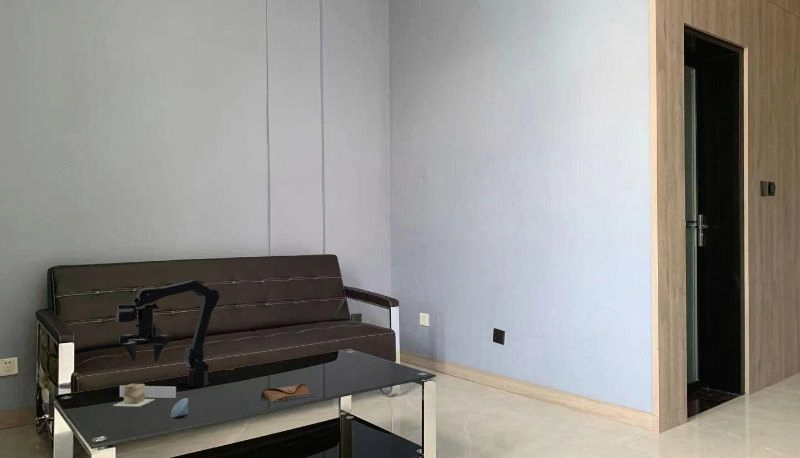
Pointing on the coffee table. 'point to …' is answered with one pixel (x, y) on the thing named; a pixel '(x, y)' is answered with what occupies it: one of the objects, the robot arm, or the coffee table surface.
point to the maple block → (134, 393)
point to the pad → (134, 404)
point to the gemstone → (180, 408)
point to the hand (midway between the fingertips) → (145, 361)
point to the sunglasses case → (284, 392)
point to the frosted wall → (156, 392)
